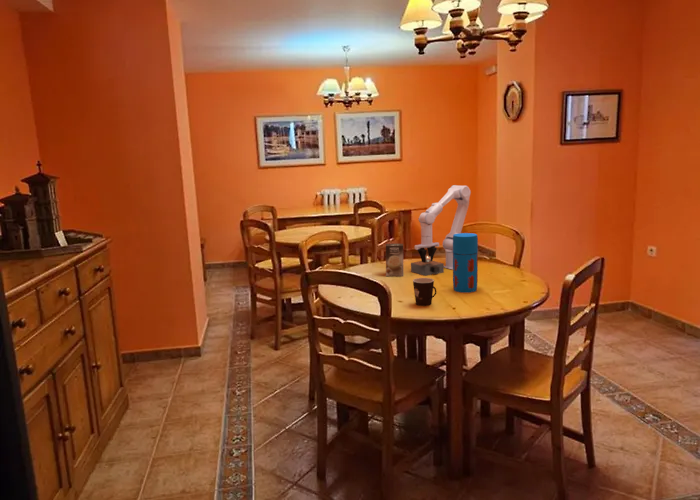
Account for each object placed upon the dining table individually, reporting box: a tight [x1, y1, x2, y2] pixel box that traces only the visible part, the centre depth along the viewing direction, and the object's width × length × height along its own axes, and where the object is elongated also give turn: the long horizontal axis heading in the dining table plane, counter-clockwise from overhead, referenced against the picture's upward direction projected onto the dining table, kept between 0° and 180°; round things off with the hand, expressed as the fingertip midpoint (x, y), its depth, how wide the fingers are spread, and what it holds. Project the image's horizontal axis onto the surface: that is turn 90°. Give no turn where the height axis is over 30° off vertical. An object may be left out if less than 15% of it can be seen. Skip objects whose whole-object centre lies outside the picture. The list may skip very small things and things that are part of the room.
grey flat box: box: [410, 260, 445, 277], centre depth 268 cm, size 12×14×5 cm
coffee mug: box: [412, 277, 437, 307], centre depth 211 cm, size 12×9×10 cm
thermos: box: [452, 232, 479, 294], centre depth 231 cm, size 11×11×25 cm
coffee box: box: [385, 243, 404, 277], centre depth 264 cm, size 9×6×16 cm
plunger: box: [425, 255, 431, 264], centre depth 269 cm, size 4×4×8 cm
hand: (427, 261), depth 268 cm, fingers closed on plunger, 4 cm apart
